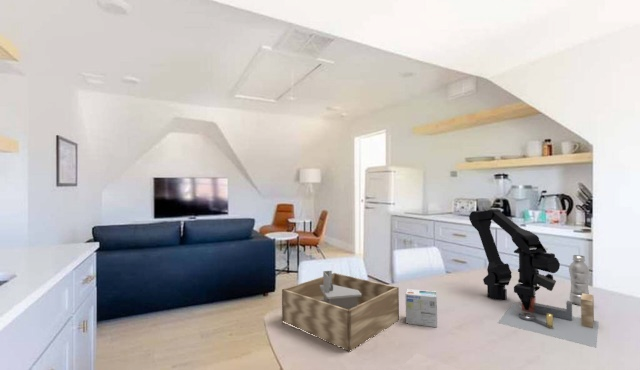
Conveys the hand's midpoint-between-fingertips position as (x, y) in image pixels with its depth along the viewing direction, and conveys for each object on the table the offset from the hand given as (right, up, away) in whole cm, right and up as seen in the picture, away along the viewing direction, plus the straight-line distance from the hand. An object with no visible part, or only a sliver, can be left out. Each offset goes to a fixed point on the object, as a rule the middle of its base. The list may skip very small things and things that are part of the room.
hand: (528, 307), depth 121 cm
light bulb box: (-44, -3, -7) cm, 44 cm away
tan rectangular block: (+13, -1, -12) cm, 17 cm away
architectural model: (-73, -3, -7) cm, 73 cm away
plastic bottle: (+25, -2, +7) cm, 26 cm away
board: (0, -2, -11) cm, 11 cm away
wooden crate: (-73, -3, -6) cm, 73 cm away
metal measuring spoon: (-4, -1, -10) cm, 11 cm away
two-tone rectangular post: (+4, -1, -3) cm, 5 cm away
